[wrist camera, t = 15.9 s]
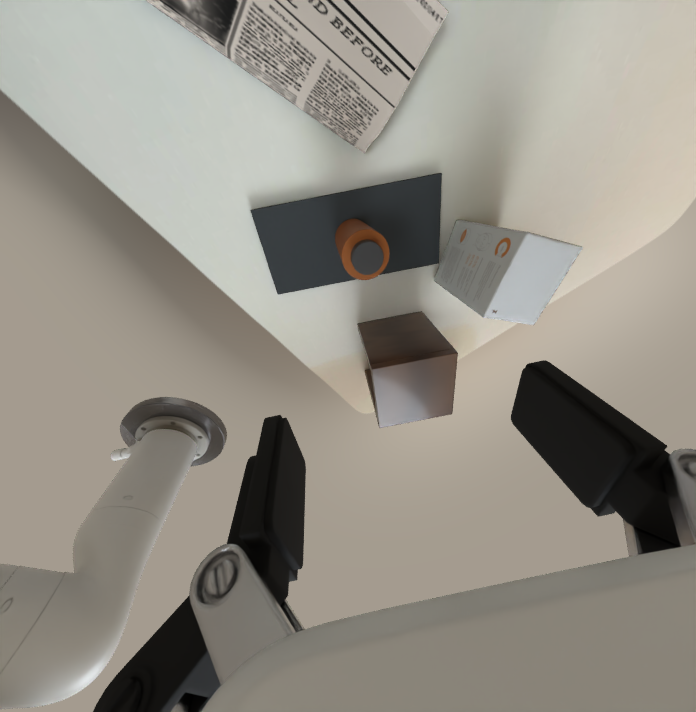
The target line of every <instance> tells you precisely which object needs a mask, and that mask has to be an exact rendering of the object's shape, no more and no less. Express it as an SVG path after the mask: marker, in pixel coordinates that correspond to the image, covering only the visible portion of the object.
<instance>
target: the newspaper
mask: <svg viewBox="0 0 696 712" xmlns="http://www.w3.org/2000/svg"><path fill="white" fill-rule="evenodd" d="M146 1H147V2H149V3H150V4H152V5H153V6H155V7H156V8H157V9H159V10H160V11H162V12H163V13H165V14H166V15H167V16H169V17H170V18H172V19H173V20H175V21H176V22H177V23H179V24H180V25H182V26H183V27H185V28H186V29H187V30H189V31H190V32H192V33H193V34H195V35H196V36H197V37H199V38H200V39H202V40H203V41H205V42H206V43H207V44H209V45H210V46H212V47H213V48H215V49H216V50H217V51H219V52H220V53H222V54H223V55H224V56H226V57H227V58H229V59H230V60H232V61H233V62H234V63H236V64H237V65H239V66H240V67H242V68H243V69H244V70H246V71H247V72H249V73H250V74H252V75H253V76H254V77H256V78H257V79H259V80H260V81H262V82H263V83H264V84H266V85H267V86H269V87H270V88H272V89H273V90H274V91H276V92H277V93H279V94H280V95H282V96H283V97H284V98H286V99H287V100H289V101H290V102H292V103H293V104H294V105H296V106H297V107H299V108H300V109H302V110H303V111H304V112H306V113H307V114H309V115H310V116H312V117H313V118H314V119H316V120H317V121H319V122H320V123H322V124H323V125H324V126H326V127H327V128H329V129H330V130H332V131H333V132H334V133H336V134H337V135H339V136H340V137H342V138H343V139H344V140H346V141H347V142H349V143H350V144H352V145H353V146H354V147H356V148H357V149H359V150H360V151H362V152H363V153H365V152H366V150H367V148H368V146H369V145H370V144H371V143H372V142H373V141H374V140H375V139H376V138H377V136H378V135H379V134H380V133H381V131H382V130H383V128H384V126H385V125H386V123H387V122H388V120H389V118H390V117H391V115H392V113H393V112H394V110H395V109H396V107H397V105H398V104H399V102H400V100H401V98H402V96H403V95H404V93H405V91H406V89H407V87H408V85H409V83H410V81H411V79H412V78H413V76H414V74H415V72H416V70H417V68H418V66H419V64H420V63H421V61H422V59H423V57H424V55H425V53H426V52H427V50H428V48H429V46H430V44H431V42H432V41H433V39H434V37H435V35H436V34H437V32H438V30H439V28H440V27H441V25H442V23H443V21H444V20H445V18H446V16H447V14H448V13H449V12H448V10H447V9H446V8H445V7H444V6H443V5H442V4H441V3H440V2H439V1H438V0H146Z"/></svg>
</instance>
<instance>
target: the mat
mask: <svg viewBox="0 0 696 712" xmlns="http://www.w3.org/2000/svg"><path fill="white" fill-rule="evenodd" d="M441 177H442V173H438V174H433V175H428V176H423V177H418V178H412V179H407V180H402V181H397V182H392V183H387V184H382V185H377V186H371V187H366V188H361V189H356V190H351V191H346V192H341V193H336V194H330V195H325V196H320V197H315V198H310V199H305V200H300V201H295V202H289V203H284V204H279V205H274V206H269V207H264V208H259V209H254V210H251V213H252V217H253V220H254V223H255V226H256V229H257V232H258V235H259V238H260V241H261V244H262V247H263V250H264V253H265V256H266V260H267V263H268V266H269V269H270V272H271V275H272V278H273V281H274V284H275V287H276V290H277V293H278V294H283V293H288V292H293V291H298V290H304V289H309V288H314V287H319V286H324V285H329V284H334V283H340V282H345V281H350V280H355V279H356V278H354V277H352V276H351V275H350V274H349V273H348V272H347V271H346V270H345V268H344V266H343V263H342V260H341V257H340V255H339V252H338V249H337V246H336V243H335V234H336V231H337V229H338V227H339V226H340V225H341V223H343V222H344V221H346V220H348V219H358V220H361V221H362V222H364V223H365V224H367V225H368V226H370V227H371V228H373V229H374V230H376V231H377V232H379V233H380V234H381V235H382V236H383V237H384V238H385V239H386V241H387V243H388V246H389V260H388V263H387V265H386V267H385V269H384V270H383V271H382V273H380V274H379V275H381V274H386V273H391V272H396V271H401V270H406V269H412V268H417V267H422V266H427V265H432V264H437V263H439V238H440V208H441Z"/></svg>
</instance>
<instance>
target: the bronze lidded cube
mask: <svg viewBox="0 0 696 712" xmlns="http://www.w3.org/2000/svg"><path fill="white" fill-rule="evenodd" d="M357 325H358V330H359V334H360V337H361V340H362V344H363V347H364V350H365V354H366V357H367V360H368V364H369V367H370V370H365V375H366V379H367V383H368V387H369V390H370V394H371V398H372V402H373V405H374V409H375V413H376V417H377V420H378V424H379V427H380V428H382V427H388V426H393V425H398V424H403V423H408V422H413V421H419V420H424V419H429V418H434V417H439V416H445V415H450V414H452V411H453V400H454V389H455V378H456V366H457V356H458V353H457V351H456V350H455V349H454V348H453V347H452V346H451V344H450V343H449V342H448V341H447V340H446V339H445V338H444V336H443V335H442V334H441V333H440V332H439V331H438V329H437V328H436V327H435V326H434V325H433V324H432V323H431V321H430V320H429V319H428V318H427V317H426V316H425V315H424V313H423V312H422V311H421V312H416V313H411V314H405V315H400V316H395V317H390V318H385V319H380V320H375V321H369V322H364V323H359V324H357Z"/></svg>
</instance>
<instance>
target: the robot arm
mask: <svg viewBox="0 0 696 712" xmlns="http://www.w3.org/2000/svg"><path fill="white" fill-rule="evenodd" d="M511 420H512V422H513V424H514V426H515V427H516V428H517V429H518V430H519V431H520V433H521V434H522V435H523V436H524V437H525V438H526V440H527V441H528V442H529V443H530V444H531V445H532V446H533V448H534V449H535V450H536V451H537V452H538V453H539V454H540V455H541V457H542V458H543V459H544V460H545V461H546V463H547V464H548V465H549V466H550V467H551V468H552V469H553V471H554V472H555V473H556V474H557V475H558V476H559V477H560V479H561V480H562V481H563V482H564V483H565V484H566V485H567V487H568V488H569V489H570V490H571V491H572V492H573V493H574V495H575V496H576V497H577V498H578V499H579V500H580V502H581V503H583V504H584V505H585V506H586V507H589V508H591V509H592V510H593V511H594V513H595V514H596V515H597V516H603V515H608V514H612V513H614V512H615V511H616V512H617V513H618V514H619V515H620V516H621V517H622V518H623V522H624V528H625V534H626V541H627V547H628V553H629V557H627V558H622V559H617V560H612V561H607V562H603V563H598V564H593V565H588V566H584V567H578V568H573V569H569V570H564V571H559V572H554V573H550V574H545V575H541V576H535V577H531V578H526V579H521V580H516V581H512V582H507V583H503V584H498V585H493V586H488V587H484V588H479V589H474V590H470V591H465V592H460V593H456V594H451V595H446V596H442V597H437V598H432V599H428V600H423V601H419V602H414V603H410V604H405V605H401V606H396V607H391V608H387V609H382V610H378V611H373V612H369V613H365V614H361V615H357V616H353V617H349V618H344V619H340V620H336V621H332V622H328V623H324V624H322V625H318V626H315V627H311V628H308V629H304V627H303V626H302V624H301V622H300V621H299V619H298V618H297V616H296V615H295V613H294V612H293V610H292V609H291V607H290V605H289V604H288V602H287V601H286V597H287V596H288V586H289V585H288V584H289V582H290V581H295V580H297V573H298V569H301V568H302V566H303V545H304V510H305V473H306V467H305V460H304V458H303V456H302V453H301V451H300V448H299V446H298V444H297V441H296V439H295V437H294V434H293V432H292V429H291V427H290V425H289V422H288V420H287V418H282V417H281V415H278V416H273V417H268V418H265V419H264V423H263V427H262V432H261V437H260V441H259V445H258V450H257V455H256V456H252V457H250V458H249V459H248V462H247V465H246V469H245V473H244V477H243V481H242V485H241V489H240V493H239V497H238V501H237V505H236V509H235V513H234V517H233V521H232V525H231V529H230V533H229V537H228V542H227V544H225V545H222V546H220V547H218V548H216V549H215V550H213V551H212V552H211V553H210V554H208V555H207V557H206V558H205V559H204V560H203V561H202V562H201V564H200V565H199V567H198V569H197V570H196V572H195V574H194V577H193V579H192V582H191V586H190V593H189V594H190V595H189V596H188V598H187V599H186V600H185V601H184V602H183V603H182V604H181V605H180V606H179V607H178V609H177V610H176V611H175V612H174V613H173V614H172V615H171V616H170V617H169V618H168V619H167V621H166V622H165V623H164V624H163V625H162V626H161V627H160V628H159V629H158V630H157V632H156V633H155V634H154V635H153V636H152V637H151V638H150V639H149V641H148V642H146V644H145V645H144V646H143V647H142V648H141V649H140V650H139V651H138V652H137V653H136V655H135V656H134V657H133V658H132V659H131V660H130V661H129V662H128V663H127V664H126V666H124V668H123V669H122V670H121V671H120V672H119V673H118V674H117V675H116V677H115V678H114V679H113V680H112V682H111V683H110V684H109V685H108V687H107V688H106V689H105V691H104V693H103V695H102V696H101V698H100V699H99V701H98V703H97V704H96V707H95V709H94V711H93V712H696V450H693V449H679V450H675V451H673V452H672V453H671V455H670V454H669V453H667V452H666V451H665V448H666V447H667V445H665V444H664V443H663V442H661V441H660V440H658V439H657V438H655V437H654V436H653V435H651V434H650V433H648V432H647V431H646V430H644V429H643V428H641V427H640V426H638V425H637V424H636V423H634V422H633V421H631V420H630V419H629V418H627V417H626V416H624V415H623V414H622V413H620V412H619V411H617V410H616V409H614V408H613V407H612V406H610V405H609V404H607V403H606V402H605V401H603V400H602V399H600V398H599V397H597V396H596V395H595V394H593V393H592V392H590V391H589V390H588V389H586V388H585V387H583V386H582V385H581V384H579V383H578V382H576V381H575V380H573V379H572V378H571V377H569V376H568V375H567V374H565V373H563V372H562V371H561V370H559V369H558V368H557V367H555V366H554V365H552V364H551V363H550V362H548V361H539V362H534V363H529V364H527V365H526V367H525V368H524V369H523V371H522V374H521V378H520V382H519V386H518V390H517V394H516V398H515V402H514V406H513V410H512V414H511ZM135 439H136V443H135V444H134V445H132V446H130V447H129V448H127V449H126V448H124V449H118V450H114V451H113V452H112V453H111V459H112V460H114V461H116V460H121V459H126V458H128V459H127V461H126V462H125V464H124V465H123V466H122V468H121V469H120V471H119V472H118V473H117V475H116V476H115V478H114V479H113V480H112V482H111V483H110V485H109V486H108V488H107V489H106V490H105V492H104V493H103V495H102V496H101V498H100V499H99V501H98V502H97V503H96V505H95V506H94V508H93V509H92V510H91V512H90V513H89V515H88V516H87V517H86V519H85V520H84V522H83V523H82V525H81V526H80V528H79V530H78V532H77V534H76V537H75V540H74V546H73V562H74V573H67V572H64V573H63V572H56V571H50V570H43V569H36V568H30V567H23V566H15V565H6V564H0V709H10V708H30V707H37V706H43V705H48V704H52V703H55V702H59V701H61V700H63V699H66V698H69V697H71V696H73V695H74V694H76V693H78V692H80V691H81V690H82V689H84V688H85V687H86V686H88V685H89V684H90V683H91V682H92V681H93V680H94V679H95V678H96V677H97V676H98V675H99V674H100V673H101V671H102V670H103V669H104V667H105V666H106V665H107V664H108V662H109V660H110V659H111V657H112V655H113V654H114V652H115V650H116V648H117V645H118V643H119V641H120V639H121V637H122V634H123V631H124V628H125V625H126V623H127V620H128V616H129V613H130V610H131V606H132V603H133V600H134V597H135V593H136V590H137V587H138V584H139V581H140V579H141V576H142V573H143V570H144V568H145V565H146V563H147V560H148V558H149V556H150V553H151V551H152V549H153V546H154V544H155V542H156V540H157V537H158V535H159V533H160V531H161V529H162V527H163V525H164V522H165V520H166V518H167V516H168V514H169V511H170V509H171V507H172V505H173V503H174V500H175V498H176V496H177V494H178V492H179V489H180V487H181V485H182V483H183V481H184V479H185V477H186V474H187V472H188V470H189V468H190V466H191V464H192V461H193V460H196V459H198V458H200V457H201V456H203V454H204V453H205V452H206V450H207V448H208V445H209V439H208V436H207V434H206V433H205V431H204V430H203V429H202V428H201V427H199V426H198V425H197V424H195V423H193V422H191V421H189V420H186V419H183V418H179V417H174V416H159V417H154V418H150V419H148V420H146V421H144V422H143V423H142V424H141V425H140V426H139V428H138V429H137V431H136V433H135ZM15 570H16V571H15ZM11 575H12V576H11ZM7 580H8V581H7ZM3 585H4V586H3Z"/></svg>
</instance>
